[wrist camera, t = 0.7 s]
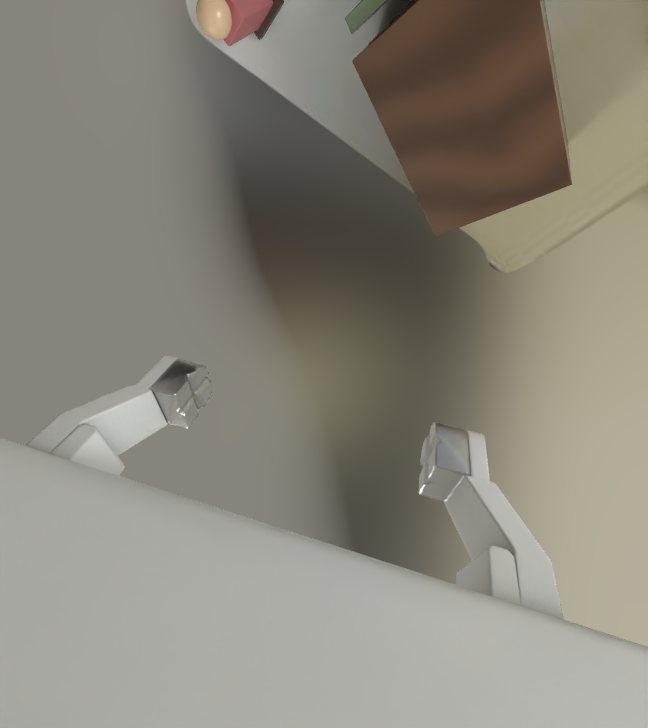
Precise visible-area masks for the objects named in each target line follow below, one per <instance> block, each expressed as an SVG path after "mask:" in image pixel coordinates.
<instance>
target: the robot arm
mask: <svg viewBox="0 0 648 728" xmlns="http://www.w3.org/2000/svg"><path fill="white" fill-rule="evenodd" d="M207 374H208V370H207V367H206V366H204V365H200V364H196V363H193V362H189V361H186V360H182V359H178V358H174V357H171V356H165V357H163V358H162V359H161V360H160V361H159V362H158V363H157V364H156V365H155V366H154V367H153V368H152V369H151V370H150V371H149V372H148V373H147V374H146V375H145V376H144V377H143V378H142V379H141V380H140V381H139V382H138V383H137V384H136V385H135V386H134V385H130V386H128V387H125V388H123V389H121V390H118V391H116V392H113V393H110V394H108V395H106V396H103V397H101V398H99V399H96V400H94V401H91V402H89V403H86V404H84V405H81V406H79V407H76V408H74V409H72V410H69V411H67V412H64V413H62V414H60V415H58V417H56V418H55V419H54V420H53V421H52V422H51V423H50V424H48V425H47V426H46V427H45V428H44V429H43V430H42V431H41V432H39V433H38V434H37V435H36V436H35V437H34V438H33V439H32V440H31V441H30V442H28V443H27V444H26V445H25V446H24V445H21V444H18V443H15V442H12V441H9V440H5V439H3V438H0V728H648V647H647V646H643V645H640V644H637V643H634V642H631V641H628V640H625V639H622V638H619V637H616V636H613V635H609V634H606V633H603V632H600V631H597V630H594V629H591V628H588V627H584V626H582V625H578V624H575V623H572V622H569V621H566V620H564V618H563V614H562V609H561V604H560V600H559V595H558V590H557V585H556V581H555V576H554V571H553V566H552V562H551V560H550V559H549V558H548V556H547V555H546V553H545V552H544V551H543V549H542V548H541V547H540V545H539V544H538V542H537V541H536V540H535V538H534V537H533V535H532V534H531V533H530V531H529V530H528V528H527V527H526V526H525V524H524V523H523V521H522V520H521V519H520V517H519V516H518V515H517V513H516V512H515V510H514V509H513V508H512V506H511V505H510V504H509V502H508V501H507V499H506V498H505V496H504V495H503V494H502V492H501V491H500V489H499V488H498V487H497V485H496V484H495V483H493V482H490V480H489V470H488V461H487V453H486V444H485V437H484V435H483V434H480V433H476V432H472V431H468V430H465V429H461V428H457V427H452V426H448V425H444V424H440V423H433V424H432V426H431V428H430V435H429V436H427V437H426V439H425V441H424V444H423V447H422V452H421V461H420V464H421V465H422V467H423V470H422V472H421V474H420V476H419V494H420V495H423V496H427V497H430V498H433V499H436V500H439V501H442V502H445V506H446V507H447V510H448V512H449V514H450V516H451V518H452V520H453V522H454V524H455V527H456V529H457V531H458V533H459V535H460V537H461V539H462V541H463V543H464V545H465V547H466V549H467V552H468V554H469V556H470V558H471V560H472V561H471V562H470V563H469V564H468V565H466V566H465V567H464V568H463V569H461V570H460V571H459V572H458V573H456V585H454V584H451V583H449V582H445V581H442V580H439V579H436V578H433V577H430V576H427V575H424V574H421V573H417V572H414V571H411V570H408V569H405V568H402V567H399V566H396V565H393V564H390V563H386V562H384V561H380V560H377V559H374V558H371V557H368V556H365V555H362V554H359V553H356V552H352V551H349V550H346V549H343V548H340V547H337V546H334V545H331V544H328V543H325V542H322V541H318V540H315V539H312V538H309V537H306V536H303V535H300V534H297V533H294V532H291V531H287V530H284V529H281V528H278V527H275V526H272V525H269V524H266V523H263V522H260V521H257V520H254V519H250V518H247V517H244V516H241V515H238V514H235V513H232V512H229V511H226V510H223V509H220V508H216V507H213V506H210V505H207V504H204V503H201V502H197V501H195V500H191V499H189V498H185V497H182V496H179V495H176V494H173V493H170V492H167V491H164V490H161V489H157V488H154V487H151V486H148V485H145V484H142V483H139V482H136V481H133V480H130V479H127V478H123V477H120V476H119V475H120V474H121V472H122V471H123V470H124V464H123V463H122V461H121V460H120V459H119V457H118V455H120V454H121V453H123V452H124V451H126V450H128V449H129V448H131V447H132V446H134V445H136V444H137V443H139V442H140V441H142V440H144V439H145V438H146V437H148V436H150V435H151V434H153V433H155V432H156V431H158V430H160V429H161V428H163V427H164V426H166V425H167V423H169V424H173V425H176V426H181V427H184V428H189V427H190V426H191V424H192V423H193V422H194V420H195V419H196V418H197V416H198V414H199V413H198V409H199V408H201V407H203V406H205V405H206V403H207V402H208V400H209V399H210V396H211V393H212V384H211V381H210V380H209V379H208V378H207V377H206V375H207Z"/></svg>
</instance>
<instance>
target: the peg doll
mask: <svg viewBox="0 0 648 728" xmlns="http://www.w3.org/2000/svg"><path fill="white" fill-rule="evenodd" d="M283 3H284V1H283V0H198V1H197V6H196V13H197V19H198V22H199V25H200V27H201V28H202V30H203V31H204V33H205V34H206V35H207V36H208V37H210V38H211V39H214V40H223V39H224V41H225V42H226V43H227V45H228V46H231V45H232V44H234V43H236V42H238V41H239V40H241V39H243V38H244V37H246V36H248V35H250V34H251V33H253V32H254V33H255V34H256V36H257V37H258V39H259V40H260V39H262V38H263V36H264V35H265V33H266V31H267V30H268V28H269V26H270V25H271V23H272V22H273V20H274V18H275V17H276V15H277V13H278V12H279V10H280V8H281V7H282V5H283Z"/></svg>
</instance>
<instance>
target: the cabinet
mask: <svg viewBox="0 0 648 728" xmlns="http://www.w3.org/2000/svg"><path fill="white" fill-rule="evenodd" d="M353 64H354V66H355V68H356V70H357V72H358V74H359V76H360V78H361V80H362V83H363V85H364V87H365V89H366V91H367V93H368V95H369V97H370V100H371V102H372V104H373V106H374V108H375V110H376V112H377V114H378V116H379V119H380V121H381V123H382V125H383V127H384V129H385V131H386V133H387V135H388V138H389V140H390V142H391V144H392V146H393V148H394V150H395V152H396V155H397V157H398V159H399V161H400V163H401V165H402V167H403V169H404V171H405V174H406V176H407V178H408V180H409V182H410V184H411V186H412V188H413V190H414V193H415V195H416V197H417V199H418V201H419V203H420V205H421V207H422V209H423V212H424V214H425V216H426V218H427V220H428V222H429V224H430V226H431V228H432V230H433V233H434V235H435V236H438V235H441V234H443V233H446V232H449V231H451V230H454V229H456V228H459V227H462V226H464V225H467V224H470V223H472V222H475V221H477V220H480V219H483V218H485V217H488V216H491V215H493V214H496V213H498V212H501V211H504V210H506V209H509V208H512V207H514V206H517V205H519V204H522V203H525V202H527V201H530V200H533V199H535V198H538V197H541V196H543V195H546V194H548V193H551V192H554V191H556V190H559V189H562V188H564V187H567V186H569V185H572V180H571V170H570V160H569V149H568V141H567V135H566V129H565V123H564V117H563V111H562V105H561V99H560V93H559V87H558V81H557V75H556V69H555V63H554V57H553V51H552V45H551V39H550V33H549V27H548V21H547V15H546V9H545V3H544V0H418V1H417V2H416V3H415V4H414V5H412V6H411V7H410V8H409V9H408V10H407V11H406V12H405V13H404V14H403V15H402V16H400V17H399V18H398V19H397V20H396V21H395V22H394V23H393V24H392V25H391V26H390V27H388V28H387V29H386V30H385V31H384V32H383V33H382V34H381V35H380V36H379V37H378V38H376V39H375V40H374V41H373V42H372V43H371V44H370V45H369V46H368V45H367V46H366V47H365V48H364V49H363V50H362V52H361V53H360V54H359V55H358V56H357V57H356V58H355V59H354V60H353Z"/></svg>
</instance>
